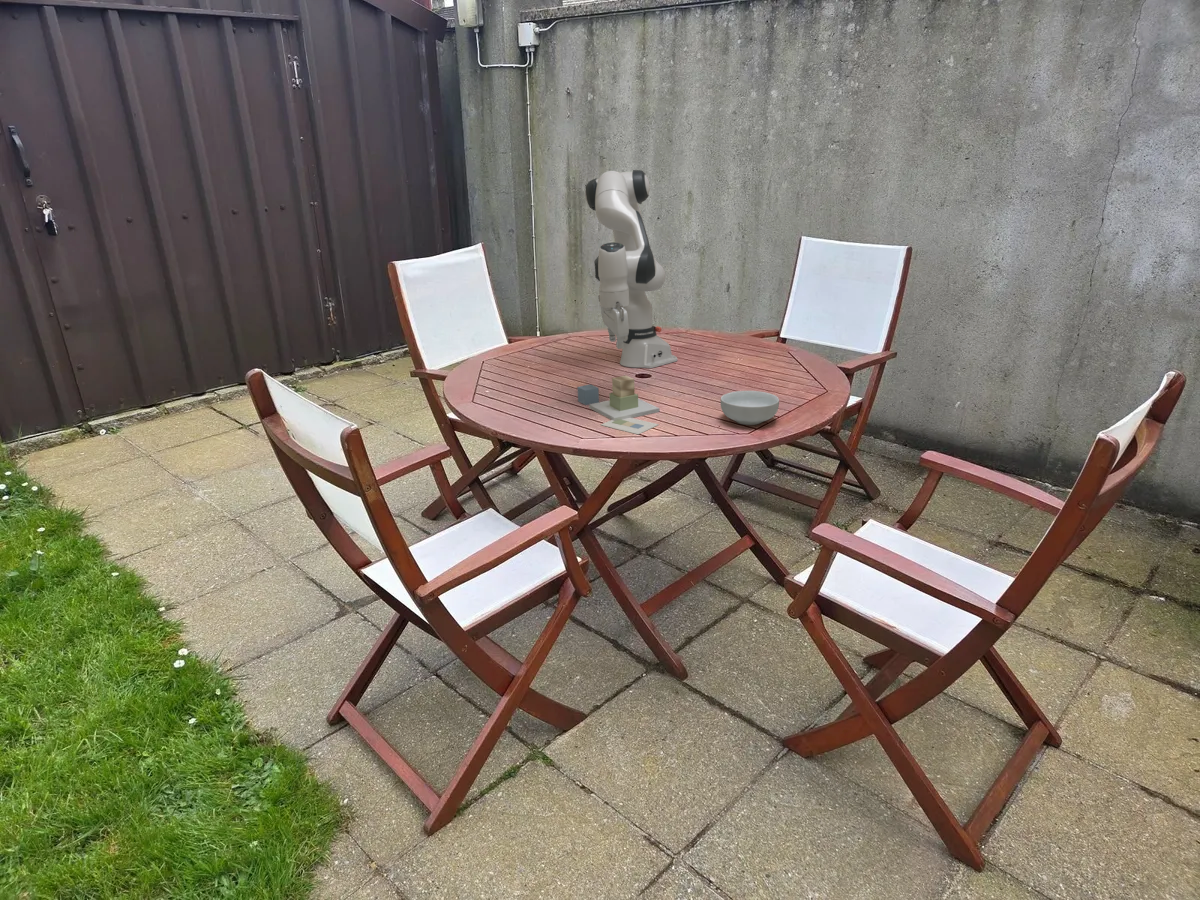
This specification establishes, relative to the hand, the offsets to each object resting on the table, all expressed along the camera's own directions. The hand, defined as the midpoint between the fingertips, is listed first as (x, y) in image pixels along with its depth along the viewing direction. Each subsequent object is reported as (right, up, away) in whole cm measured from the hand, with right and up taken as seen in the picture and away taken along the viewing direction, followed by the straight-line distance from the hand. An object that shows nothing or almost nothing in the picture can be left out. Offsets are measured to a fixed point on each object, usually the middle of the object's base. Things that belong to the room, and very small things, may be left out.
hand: (616, 344), depth 229 cm
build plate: (+3, -20, +5) cm, 21 cm away
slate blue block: (-9, -17, +15) cm, 24 cm away
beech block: (+2, -15, +3) cm, 15 cm away
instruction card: (+4, -25, -8) cm, 26 cm away
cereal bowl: (+39, -24, -8) cm, 46 cm away
